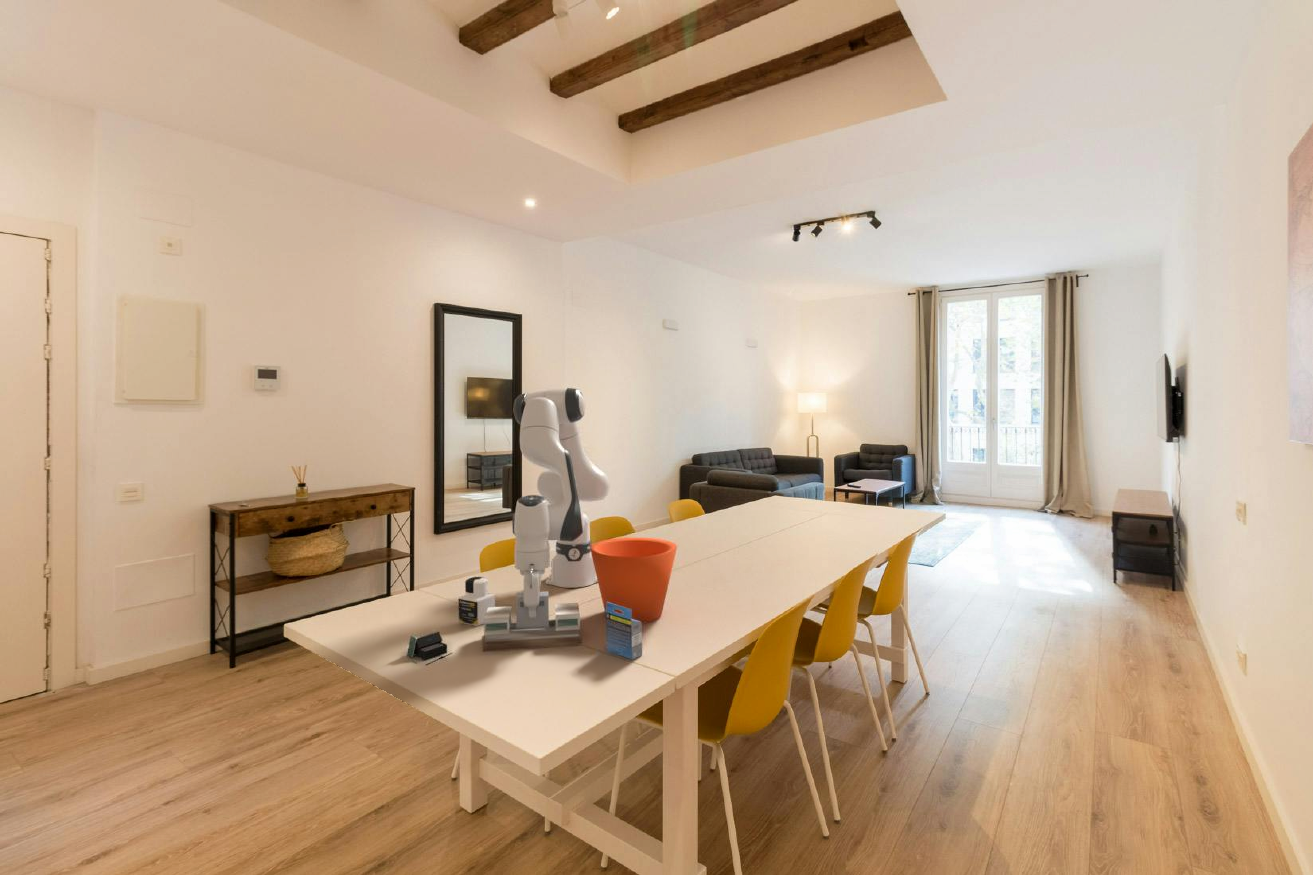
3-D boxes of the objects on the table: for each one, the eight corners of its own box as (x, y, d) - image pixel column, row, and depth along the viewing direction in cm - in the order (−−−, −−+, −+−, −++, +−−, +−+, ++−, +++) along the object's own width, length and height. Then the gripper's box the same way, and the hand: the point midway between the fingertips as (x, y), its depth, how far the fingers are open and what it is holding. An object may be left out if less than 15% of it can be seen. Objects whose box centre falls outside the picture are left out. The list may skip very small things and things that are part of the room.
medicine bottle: (458, 622, 172) (457, 579, 171) (476, 614, 178) (476, 573, 177) (477, 626, 168) (476, 583, 168) (495, 618, 175) (495, 576, 174)
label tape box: (643, 655, 149) (642, 605, 148) (631, 660, 145) (631, 609, 145) (616, 646, 154) (616, 597, 154) (605, 651, 151) (604, 601, 151)
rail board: (487, 633, 163) (487, 605, 163) (579, 628, 167) (579, 600, 167) (482, 651, 151) (482, 621, 151) (581, 644, 155) (581, 615, 155)
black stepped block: (441, 639, 160) (440, 618, 160) (475, 653, 151) (474, 631, 151) (384, 657, 149) (384, 634, 149) (417, 674, 139) (417, 650, 139)
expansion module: (517, 623, 160) (517, 592, 160) (548, 621, 162) (548, 591, 161) (516, 629, 156) (516, 597, 156) (548, 627, 157) (548, 596, 157)
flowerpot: (668, 632, 164) (668, 558, 163) (578, 626, 169) (577, 554, 168) (683, 603, 188) (683, 539, 187) (604, 598, 193) (604, 535, 192)
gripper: (544, 569, 148) (544, 626, 149) (545, 550, 169) (545, 600, 169) (517, 570, 147) (518, 627, 148) (521, 551, 168) (522, 601, 168)
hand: (532, 613), depth 159 cm, fingers closed on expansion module, 4 cm apart
